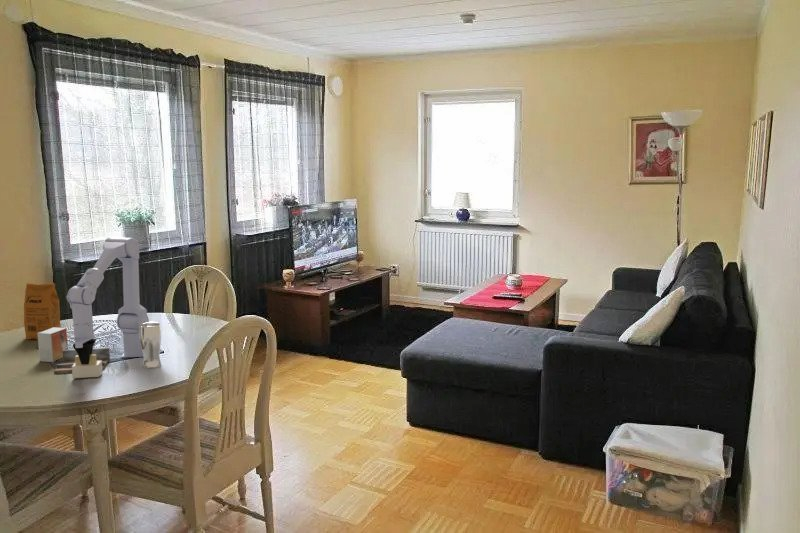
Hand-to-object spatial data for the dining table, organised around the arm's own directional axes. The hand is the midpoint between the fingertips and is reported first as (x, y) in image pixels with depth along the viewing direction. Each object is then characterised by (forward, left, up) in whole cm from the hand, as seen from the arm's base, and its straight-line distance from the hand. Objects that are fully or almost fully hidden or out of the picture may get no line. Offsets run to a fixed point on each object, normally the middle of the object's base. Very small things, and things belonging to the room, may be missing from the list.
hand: (86, 362), depth 209 cm
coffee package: (+28, -53, -5) cm, 60 cm away
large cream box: (0, -1, -4) cm, 5 cm away
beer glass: (-19, -8, -5) cm, 21 cm away
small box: (+16, -23, -5) cm, 29 cm away
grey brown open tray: (+4, -12, -5) cm, 14 cm away
